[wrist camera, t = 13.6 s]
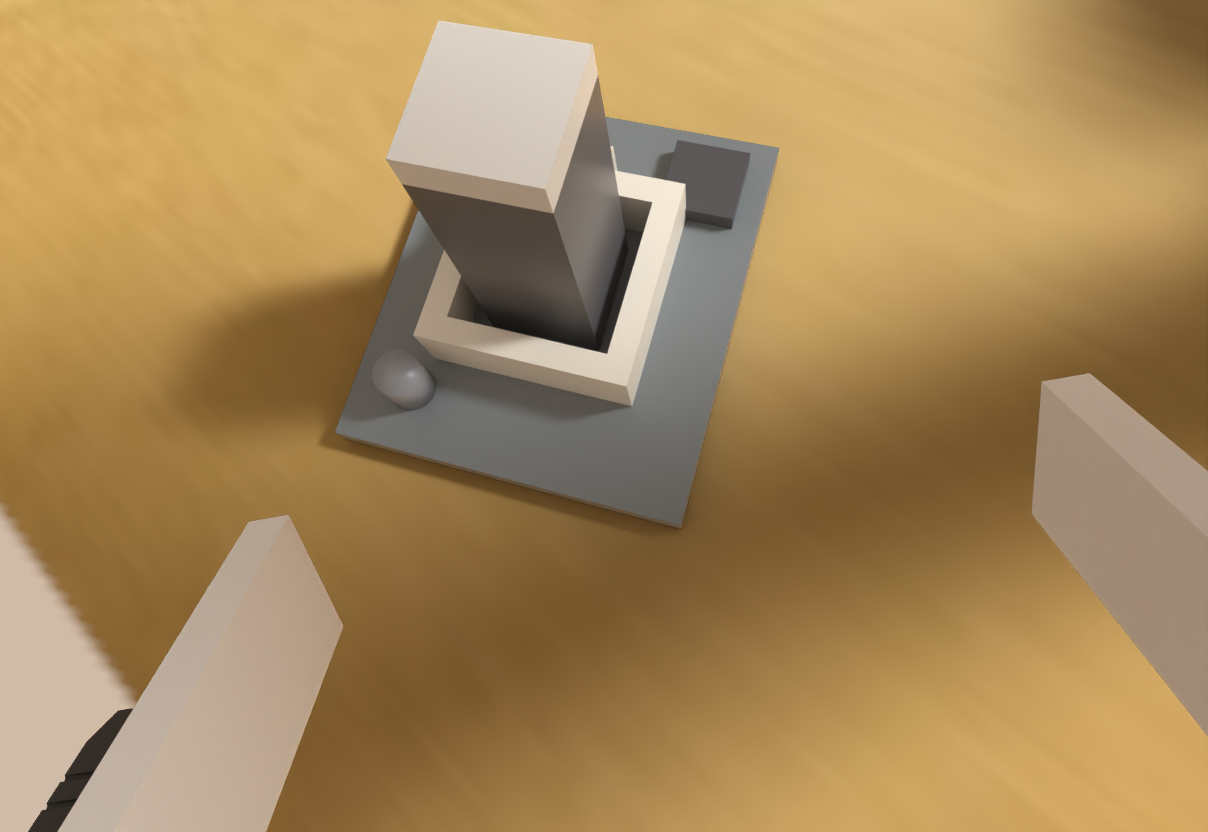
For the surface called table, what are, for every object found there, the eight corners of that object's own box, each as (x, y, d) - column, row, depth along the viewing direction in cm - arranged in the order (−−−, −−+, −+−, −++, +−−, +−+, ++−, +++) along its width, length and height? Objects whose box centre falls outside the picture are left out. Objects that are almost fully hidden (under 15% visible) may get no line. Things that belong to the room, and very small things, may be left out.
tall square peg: (525, 229, 33) (438, 20, 22) (628, 249, 32) (592, 44, 21) (493, 326, 32) (385, 158, 21) (599, 350, 31) (545, 189, 20)
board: (469, 105, 36) (445, 51, 33) (776, 162, 34) (785, 109, 30) (345, 438, 33) (305, 415, 29) (680, 529, 30) (678, 514, 27)
